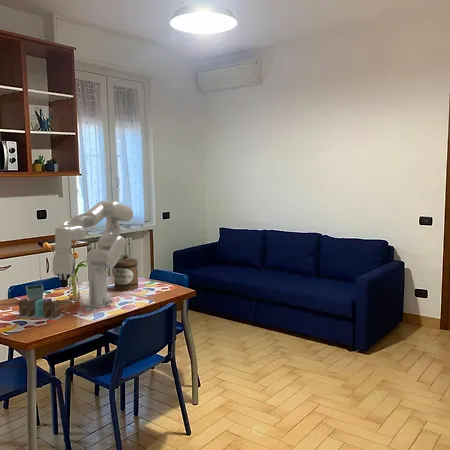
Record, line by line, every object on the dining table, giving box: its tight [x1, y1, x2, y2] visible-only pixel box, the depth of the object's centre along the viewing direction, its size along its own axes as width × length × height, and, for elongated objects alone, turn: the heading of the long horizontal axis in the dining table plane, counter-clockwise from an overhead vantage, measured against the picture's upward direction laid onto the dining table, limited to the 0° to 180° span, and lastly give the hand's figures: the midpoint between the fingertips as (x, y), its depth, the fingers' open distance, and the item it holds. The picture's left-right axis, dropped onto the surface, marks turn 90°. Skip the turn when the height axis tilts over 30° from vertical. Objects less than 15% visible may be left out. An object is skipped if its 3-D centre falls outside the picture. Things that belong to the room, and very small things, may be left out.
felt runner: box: [15, 313, 66, 320], centre depth 240 cm, size 23×9×1 cm, turn 80°
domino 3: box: [43, 299, 53, 318], centre depth 239 cm, size 2×5×8 cm, turn 170°
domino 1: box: [18, 297, 29, 316], centre depth 241 cm, size 2×5×8 cm, turn 170°
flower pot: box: [25, 284, 44, 301], centre depth 265 cm, size 9×9×9 cm
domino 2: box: [27, 299, 36, 317], centre depth 240 cm, size 2×5×8 cm, turn 170°
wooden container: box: [113, 254, 139, 292], centre depth 297 cm, size 15×15×22 cm
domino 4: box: [51, 299, 61, 318], centre depth 238 cm, size 2×5×8 cm, turn 170°
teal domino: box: [35, 298, 45, 317], centre depth 240 cm, size 2×5×8 cm, turn 171°
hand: (64, 287), depth 236 cm, fingers closed
